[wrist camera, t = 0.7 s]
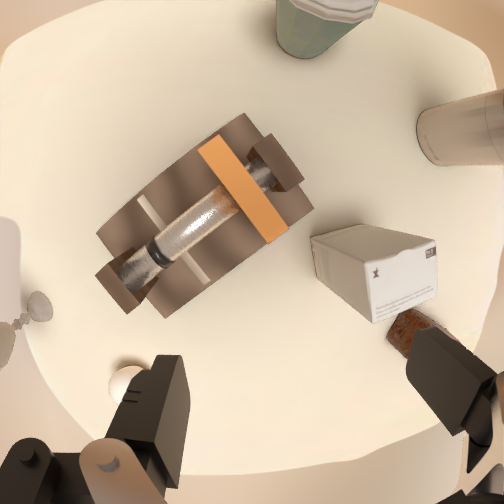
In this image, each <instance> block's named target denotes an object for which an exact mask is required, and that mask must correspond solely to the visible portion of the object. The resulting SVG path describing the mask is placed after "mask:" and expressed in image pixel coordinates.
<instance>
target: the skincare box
mask: <svg viewBox="0 0 504 504" xmlns="http://www.w3.org/2000/svg"><path fill="white" fill-rule="evenodd" d="M310 240H311V245H312V251H313V256H314V262H315V267H316V273H317V278H318V280H320V281H321V282H322V283H323V284H324V285H326V286H327V287H328V288H329V289H331V290H332V291H333V292H334V293H336V294H337V295H338V296H339V297H341V298H342V299H343V300H344V301H345V302H347V303H348V304H349V305H350V306H352V307H353V308H354V309H355V310H356V311H358V312H359V313H360V314H361V315H363V316H364V317H365V318H366V319H367V320H369V321H370V322H371V323H372V324H374V323H377V322H380V321H382V320H384V319H387V318H389V317H391V316H394V315H396V314H398V313H401V312H403V311H405V310H408V309H410V308H412V307H414V306H416V305H419V304H421V303H423V302H425V301H427V300H429V299H431V298H433V297H435V296H437V258H436V243H435V240H433V239H428V238H424V237H420V236H416V235H411V234H407V233H402V232H398V231H393V230H389V229H384V228H379V227H374V226H370V225H365V224H360V225H356V226H352V227H348V228H344V229H340V230H336V231H332V232H329V233H325V234H322V235H319V236H314V237H311V238H310Z"/></svg>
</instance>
